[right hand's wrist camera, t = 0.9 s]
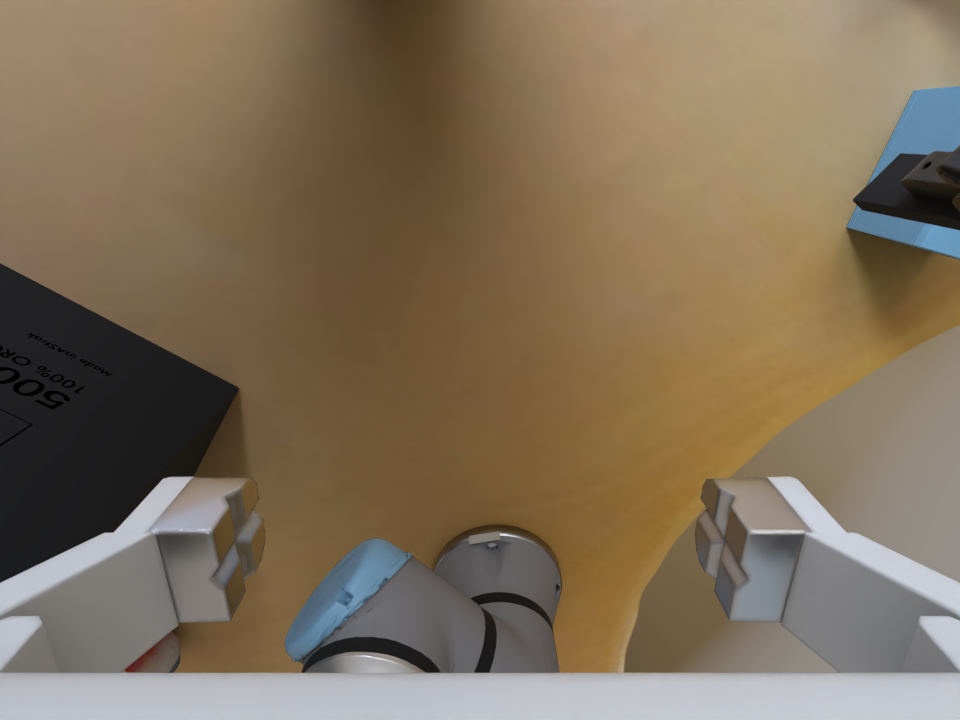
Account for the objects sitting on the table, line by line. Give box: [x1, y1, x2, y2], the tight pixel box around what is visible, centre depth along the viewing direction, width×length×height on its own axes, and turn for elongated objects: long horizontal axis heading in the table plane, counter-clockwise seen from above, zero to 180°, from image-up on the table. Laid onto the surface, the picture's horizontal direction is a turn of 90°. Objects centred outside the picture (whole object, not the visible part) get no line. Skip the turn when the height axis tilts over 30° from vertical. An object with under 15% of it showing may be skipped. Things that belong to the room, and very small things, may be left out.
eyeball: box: [125, 631, 180, 673], centre depth 70 cm, size 6×6×6 cm
